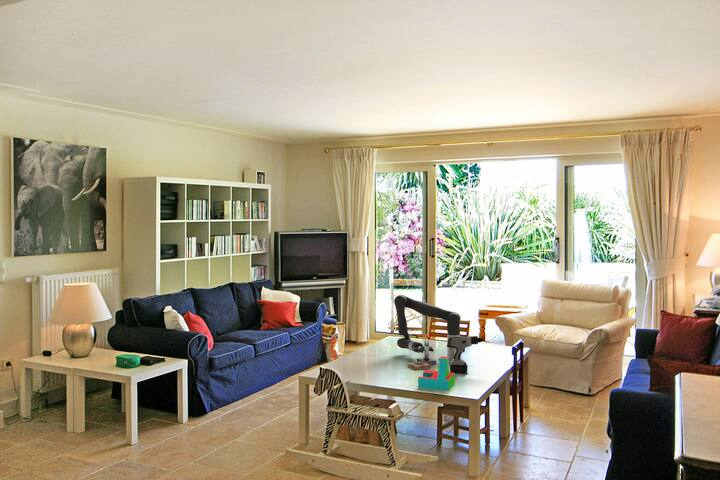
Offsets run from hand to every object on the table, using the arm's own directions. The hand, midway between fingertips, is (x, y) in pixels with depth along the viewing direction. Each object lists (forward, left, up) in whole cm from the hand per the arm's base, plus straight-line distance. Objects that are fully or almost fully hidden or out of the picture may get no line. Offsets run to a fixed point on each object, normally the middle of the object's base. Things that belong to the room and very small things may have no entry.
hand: (428, 350), depth 434 cm
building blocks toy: (+25, +47, -10) cm, 54 cm away
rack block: (+12, +7, -9) cm, 17 cm away
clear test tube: (0, -2, -9) cm, 9 cm away
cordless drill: (-8, +32, -9) cm, 34 cm away
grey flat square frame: (0, -2, -9) cm, 9 cm away
